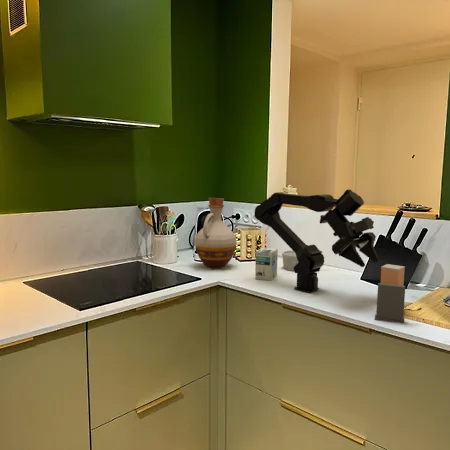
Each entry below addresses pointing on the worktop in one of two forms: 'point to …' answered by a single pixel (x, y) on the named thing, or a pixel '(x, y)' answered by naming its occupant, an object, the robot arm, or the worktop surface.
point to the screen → (390, 303)
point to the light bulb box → (266, 263)
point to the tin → (392, 274)
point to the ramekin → (289, 260)
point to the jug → (215, 238)
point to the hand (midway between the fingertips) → (371, 264)
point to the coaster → (407, 304)
